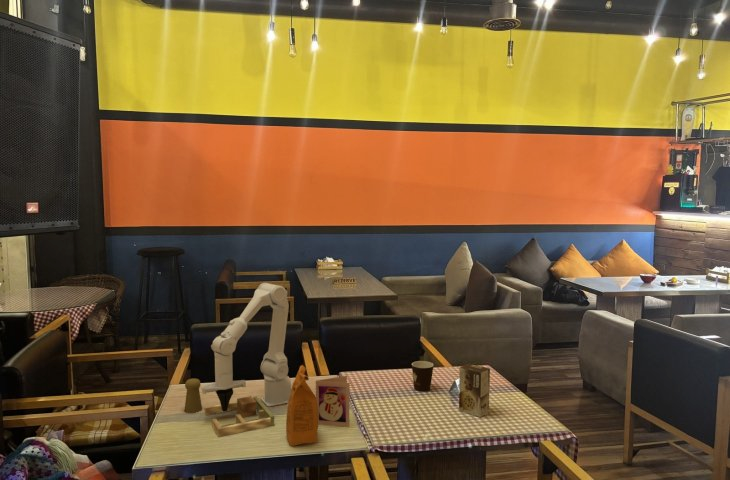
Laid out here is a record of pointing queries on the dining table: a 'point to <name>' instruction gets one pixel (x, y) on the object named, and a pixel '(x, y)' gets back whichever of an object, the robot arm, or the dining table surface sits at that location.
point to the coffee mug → (422, 375)
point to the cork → (193, 396)
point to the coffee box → (474, 389)
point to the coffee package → (301, 412)
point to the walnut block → (246, 407)
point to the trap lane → (241, 419)
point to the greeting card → (333, 401)
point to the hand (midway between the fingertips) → (224, 410)
